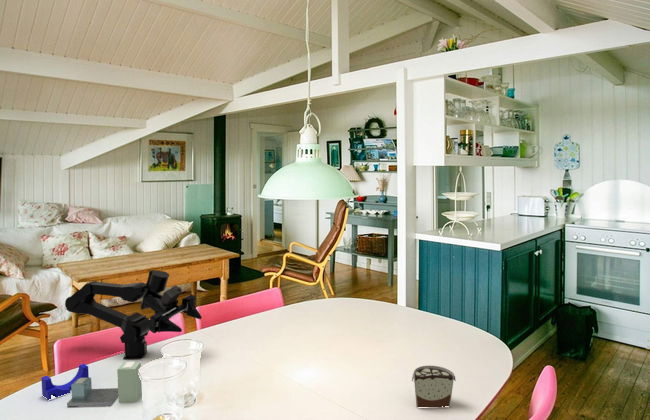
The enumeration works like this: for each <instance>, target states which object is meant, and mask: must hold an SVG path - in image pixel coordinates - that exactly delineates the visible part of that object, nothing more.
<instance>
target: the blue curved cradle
mask: <svg viewBox="0 0 650 420" xmlns="http://www.w3.org/2000/svg"><path fill="white" fill-rule="evenodd" d="M89 374H90V373H89V365H87V364H85V363H81V364H78V370H77V373H76V374H75V376H74V377H73V378H72V379H71V380H70V381H69V382H67V383H63V384H60V385H57V384H53V381H52V378H51V377H50V376H48V375H45V376H42V377H40V379H41V395H43V396H44V397H46V398H47V399H48V400H49V399H51V395H53V396H55V397H58V396H61V395H64V394H67V393H70V394H71V391H70V390H71V385H72V384H73V383H74V382H75V381H76V380H77V379H78V378H90V376H89ZM67 395H68V394H67ZM43 396H42V397H43ZM64 396H65V395H64ZM44 397H43V398H44ZM61 397H62V396H61Z"/></svg>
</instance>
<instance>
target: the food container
mask: <svg viewBox="0 0 650 420" xmlns="http://www.w3.org/2000/svg"><path fill="white" fill-rule="evenodd" d="M456 380H457V379H456V376H455V373H454V372H453V371H451V370H450V369H448V368H446V367H443V366H440V365H439V366H437V365H423V366H417V367H416V368H415V369H414V370H413V373H412V376H411V382H413V383H414V395H415V403H416V405H415V406H416V408H417V407H442V406H443V407H445V406H449V407H450V408H451V401H452V394H453V387H454V382H456Z"/></svg>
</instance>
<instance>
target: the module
mask: <svg viewBox="0 0 650 420" xmlns="http://www.w3.org/2000/svg"><path fill="white" fill-rule="evenodd" d="M140 367H141V368H142V362H141V361H138V362H137V361H127V362H126V361H125V362H123V363H121V364H120V366H119V367H118V368H116V369H117V370H116V371H117V388H118V397H117V399H118V400H117V401H118V404H119V403H120V404H121V403H137V402H138V400H139V399H140V398H141V396H142V395H143V392H142V391H143V390H142V389H143V388H142V387H143V386H142V385H143V384H142V379H141V380H140V378H139V375H138V369H139V368H140ZM141 394H142V395H141Z"/></svg>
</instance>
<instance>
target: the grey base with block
mask: <svg viewBox="0 0 650 420" xmlns="http://www.w3.org/2000/svg"><path fill="white" fill-rule="evenodd" d="M92 386H93V385H92V377H89V378H78V379H77V380H76V381H75V382H74V383H73V384H72V385H71V391H70V392H71V398H70V399H69V400H68V402H67V403H66V407H67V406H93V407H111V406H112V405H113V404H114V402H116V400H117V399H118V387H114V388H113V387H112V388H111V387H109V388H92Z"/></svg>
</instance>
